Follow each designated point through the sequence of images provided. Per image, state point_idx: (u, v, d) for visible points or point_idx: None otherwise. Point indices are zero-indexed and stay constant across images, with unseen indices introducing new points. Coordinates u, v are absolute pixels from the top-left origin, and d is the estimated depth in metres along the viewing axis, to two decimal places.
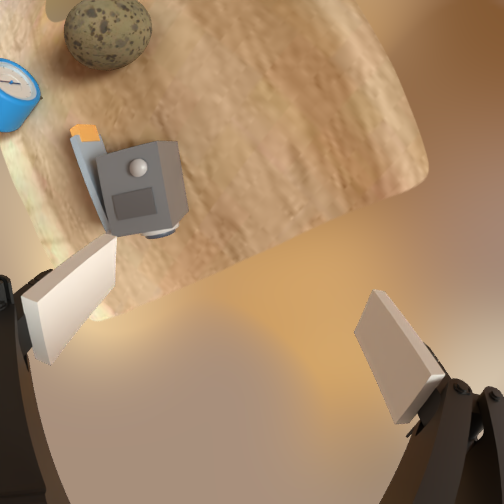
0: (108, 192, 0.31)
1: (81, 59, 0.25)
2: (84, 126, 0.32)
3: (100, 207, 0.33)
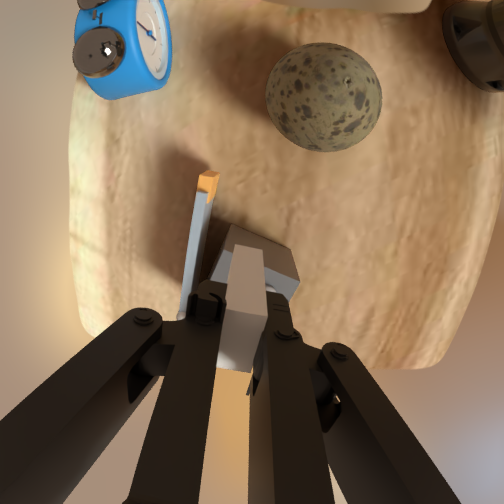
0: None
1: (283, 118, 0.23)
2: (215, 178, 0.29)
3: (189, 288, 0.31)
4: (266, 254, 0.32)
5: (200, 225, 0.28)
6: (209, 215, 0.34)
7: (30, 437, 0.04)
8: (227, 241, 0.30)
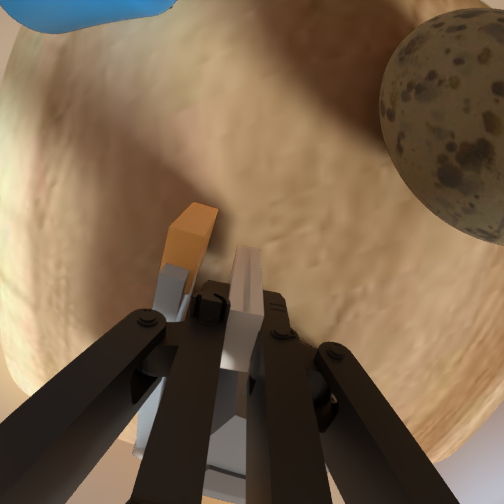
0: None
1: (467, 154, 0.07)
2: (208, 231, 0.13)
3: (150, 428, 0.14)
4: None
5: None
6: (191, 290, 0.17)
7: (33, 438, 0.04)
8: (239, 378, 0.13)
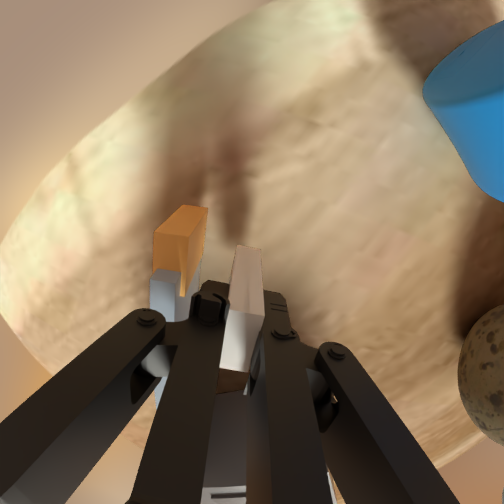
0: None
1: None
2: (196, 231, 0.13)
3: None
4: None
5: None
6: (195, 292, 0.17)
7: (32, 438, 0.04)
8: None
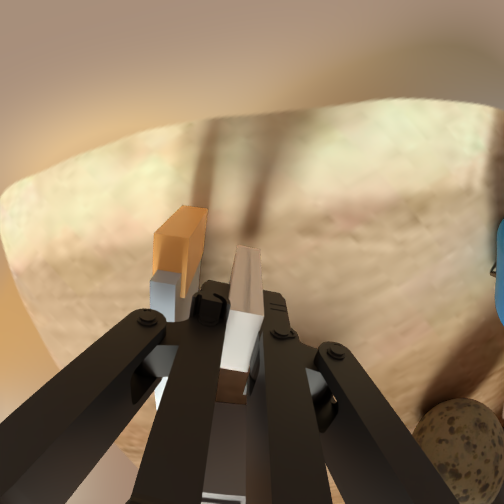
0: None
1: (454, 472, 0.15)
2: (196, 232, 0.13)
3: None
4: None
5: None
6: None
7: (33, 438, 0.04)
8: None
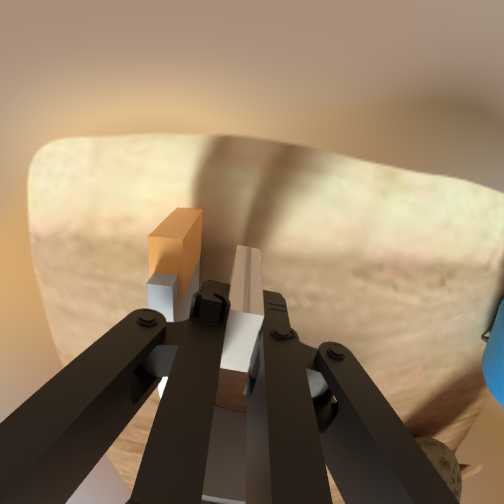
0: None
1: None
2: (191, 233, 0.13)
3: None
4: None
5: None
6: None
7: (32, 438, 0.04)
8: None
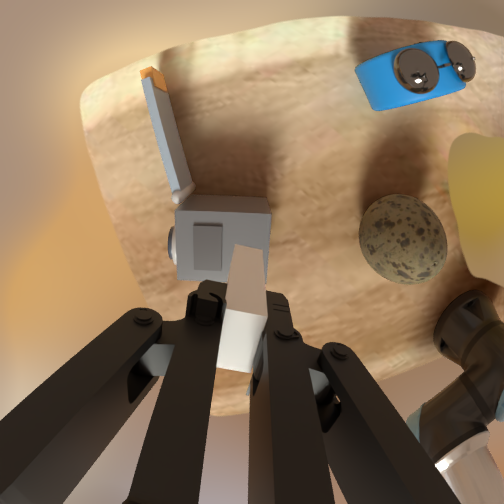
0: (227, 220, 0.30)
1: (387, 222, 0.30)
2: (156, 71, 0.28)
3: (170, 162, 0.30)
4: None
5: (155, 102, 0.27)
6: (170, 110, 0.33)
7: (30, 437, 0.04)
8: (269, 209, 0.33)
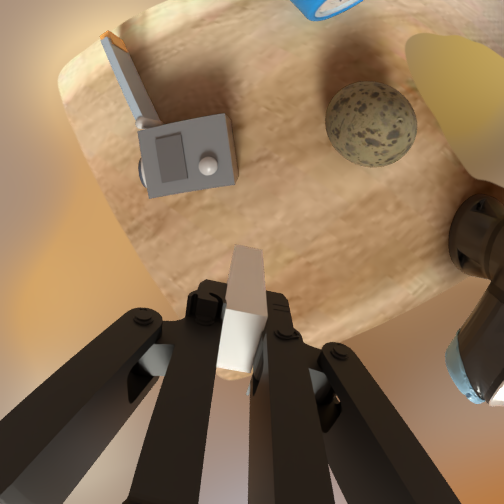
0: (184, 128, 0.30)
1: (343, 100, 0.28)
2: (114, 35, 0.28)
3: (131, 96, 0.29)
4: (232, 152, 0.34)
5: (113, 53, 0.27)
6: (132, 64, 0.33)
7: (30, 437, 0.04)
8: (226, 116, 0.31)
